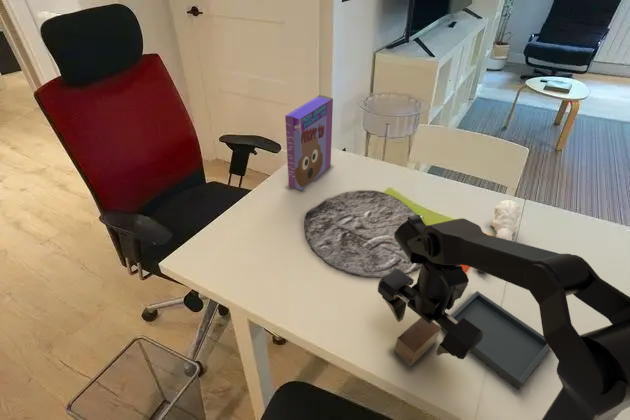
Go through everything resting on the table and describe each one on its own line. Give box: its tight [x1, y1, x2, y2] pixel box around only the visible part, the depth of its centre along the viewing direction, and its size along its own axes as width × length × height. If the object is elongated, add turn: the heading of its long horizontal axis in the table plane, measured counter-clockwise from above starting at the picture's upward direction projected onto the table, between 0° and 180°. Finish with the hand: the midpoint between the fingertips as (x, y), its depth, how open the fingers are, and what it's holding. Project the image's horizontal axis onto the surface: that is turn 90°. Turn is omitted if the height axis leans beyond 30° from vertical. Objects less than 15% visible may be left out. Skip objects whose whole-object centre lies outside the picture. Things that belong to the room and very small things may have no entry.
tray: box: [440, 290, 551, 390], centre depth 75 cm, size 17×13×2 cm
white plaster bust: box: [489, 199, 522, 241], centre depth 97 cm, size 6×8×12 cm
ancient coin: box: [303, 189, 422, 278], centre depth 100 cm, size 33×35×1 cm
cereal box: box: [284, 94, 334, 192], centre depth 114 cm, size 17×5×24 cm, turn 147°
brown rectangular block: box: [393, 317, 442, 367], centre depth 72 cm, size 4×8×5 cm, turn 130°
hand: (418, 336), depth 71 cm, fingers open, 9 cm apart
